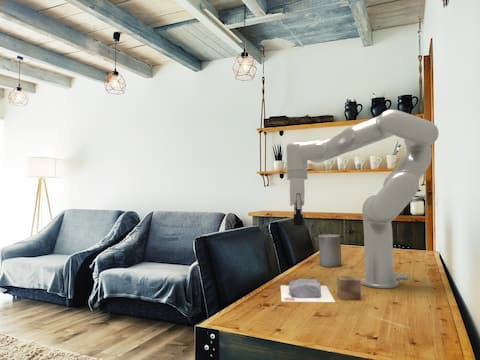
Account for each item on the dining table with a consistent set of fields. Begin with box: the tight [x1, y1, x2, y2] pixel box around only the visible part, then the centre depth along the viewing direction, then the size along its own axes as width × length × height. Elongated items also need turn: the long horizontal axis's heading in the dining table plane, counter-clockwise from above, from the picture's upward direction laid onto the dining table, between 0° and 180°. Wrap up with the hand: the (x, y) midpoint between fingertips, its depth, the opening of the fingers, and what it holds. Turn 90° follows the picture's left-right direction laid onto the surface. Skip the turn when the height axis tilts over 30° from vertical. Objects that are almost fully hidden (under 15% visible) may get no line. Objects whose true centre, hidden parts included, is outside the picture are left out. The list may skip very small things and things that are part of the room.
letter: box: [280, 284, 336, 303], centre depth 122 cm, size 16×20×1 cm
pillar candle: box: [318, 232, 342, 268], centre depth 169 cm, size 10×10×15 cm
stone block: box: [288, 278, 322, 298], centre depth 122 cm, size 12×5×10 cm
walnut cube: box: [336, 275, 362, 301], centre depth 117 cm, size 6×6×6 cm
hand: (298, 225), depth 137 cm, fingers closed
